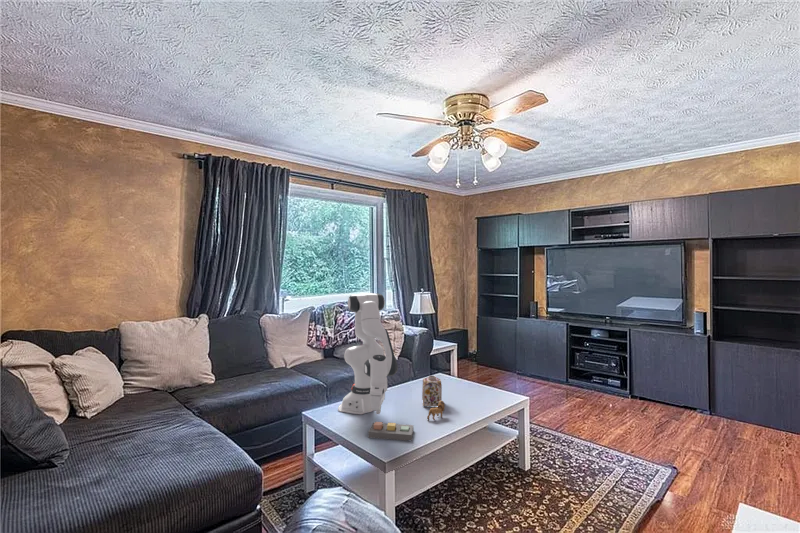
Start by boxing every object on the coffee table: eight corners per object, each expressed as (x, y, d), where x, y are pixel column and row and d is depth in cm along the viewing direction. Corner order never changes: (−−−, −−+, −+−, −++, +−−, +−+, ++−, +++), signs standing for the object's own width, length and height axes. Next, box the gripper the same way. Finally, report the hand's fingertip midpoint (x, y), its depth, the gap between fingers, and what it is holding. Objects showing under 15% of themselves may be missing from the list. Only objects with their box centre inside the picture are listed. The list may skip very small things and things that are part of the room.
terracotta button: (373, 432, 203) (373, 424, 203) (375, 428, 207) (375, 421, 207) (381, 432, 202) (381, 425, 202) (382, 429, 206) (382, 422, 206)
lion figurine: (439, 413, 233) (439, 398, 233) (446, 416, 230) (447, 401, 230) (424, 421, 222) (424, 405, 222) (432, 423, 218) (432, 407, 218)
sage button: (400, 436, 201) (400, 429, 201) (401, 433, 205) (401, 425, 205) (408, 436, 201) (408, 429, 201) (408, 433, 205) (409, 426, 205)
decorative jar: (441, 407, 243) (442, 379, 243) (422, 407, 243) (423, 378, 243) (440, 401, 255) (440, 373, 255) (422, 400, 255) (422, 373, 255)
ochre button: (387, 432, 202) (387, 425, 202) (388, 429, 206) (388, 422, 206) (394, 433, 202) (394, 426, 202) (395, 430, 206) (395, 423, 206)
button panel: (368, 437, 199) (368, 431, 199) (372, 428, 211) (372, 422, 211) (411, 440, 197) (411, 434, 197) (413, 430, 208) (413, 425, 208)
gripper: (376, 381, 215) (376, 406, 215) (369, 392, 195) (368, 420, 195) (387, 381, 215) (387, 406, 215) (381, 393, 194) (381, 421, 194)
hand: (378, 413), depth 205 cm, fingers closed
